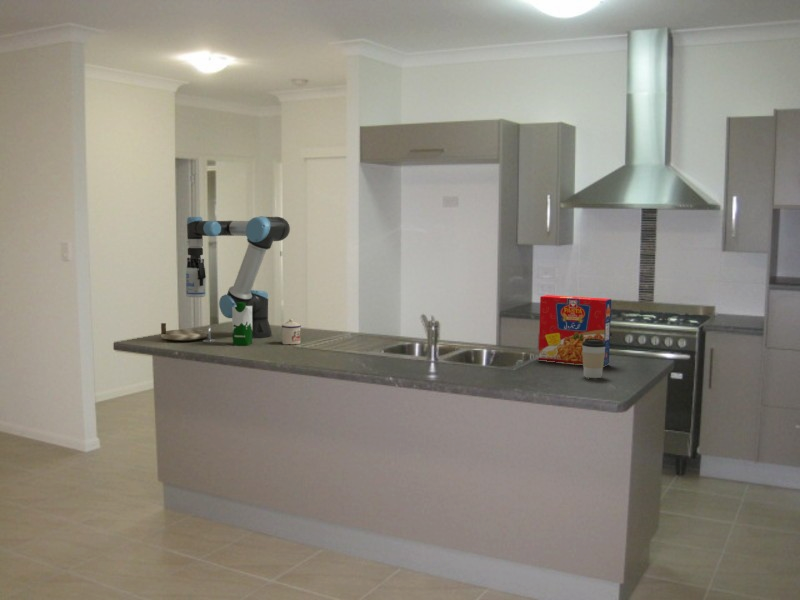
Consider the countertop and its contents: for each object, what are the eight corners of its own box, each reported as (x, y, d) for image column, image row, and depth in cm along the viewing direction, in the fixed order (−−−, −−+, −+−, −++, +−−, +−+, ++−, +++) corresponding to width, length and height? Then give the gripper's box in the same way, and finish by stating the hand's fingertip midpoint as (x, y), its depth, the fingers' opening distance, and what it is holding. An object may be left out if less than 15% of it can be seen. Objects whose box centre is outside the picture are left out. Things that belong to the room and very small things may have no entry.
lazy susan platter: (201, 331, 412) (200, 318, 411) (213, 337, 392) (213, 323, 392) (156, 334, 401) (156, 320, 400) (166, 340, 382) (166, 326, 381)
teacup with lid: (294, 345, 382) (294, 321, 381) (277, 344, 386) (277, 319, 385) (307, 342, 393) (307, 318, 392) (291, 340, 397) (291, 316, 396)
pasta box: (538, 361, 349) (540, 296, 346) (545, 358, 356) (547, 294, 353) (603, 368, 335) (605, 300, 332) (608, 365, 342) (611, 299, 339)
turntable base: (205, 338, 400) (205, 335, 400) (187, 342, 388) (187, 339, 388) (182, 336, 406) (182, 333, 406) (163, 340, 393) (163, 337, 393)
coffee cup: (601, 374, 321) (602, 337, 319) (607, 379, 312) (609, 340, 310) (578, 374, 321) (579, 337, 319) (584, 379, 312) (585, 340, 310)
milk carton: (230, 345, 381) (230, 302, 378) (236, 342, 390) (236, 300, 387) (249, 346, 380) (248, 303, 378) (254, 343, 389) (254, 301, 387)
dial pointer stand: (215, 341, 392) (215, 326, 391) (210, 342, 388) (209, 328, 388) (206, 340, 394) (206, 326, 393) (201, 341, 391) (200, 327, 390)
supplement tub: (182, 297, 412) (181, 268, 411) (193, 295, 421) (193, 266, 420) (198, 297, 409) (198, 268, 407) (209, 296, 418) (209, 267, 416)
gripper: (178, 246, 418) (179, 290, 421) (198, 248, 402) (199, 293, 404) (192, 246, 423) (192, 289, 426) (212, 248, 406) (213, 292, 409)
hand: (196, 291), depth 415 cm, fingers closed on supplement tub, 10 cm apart
